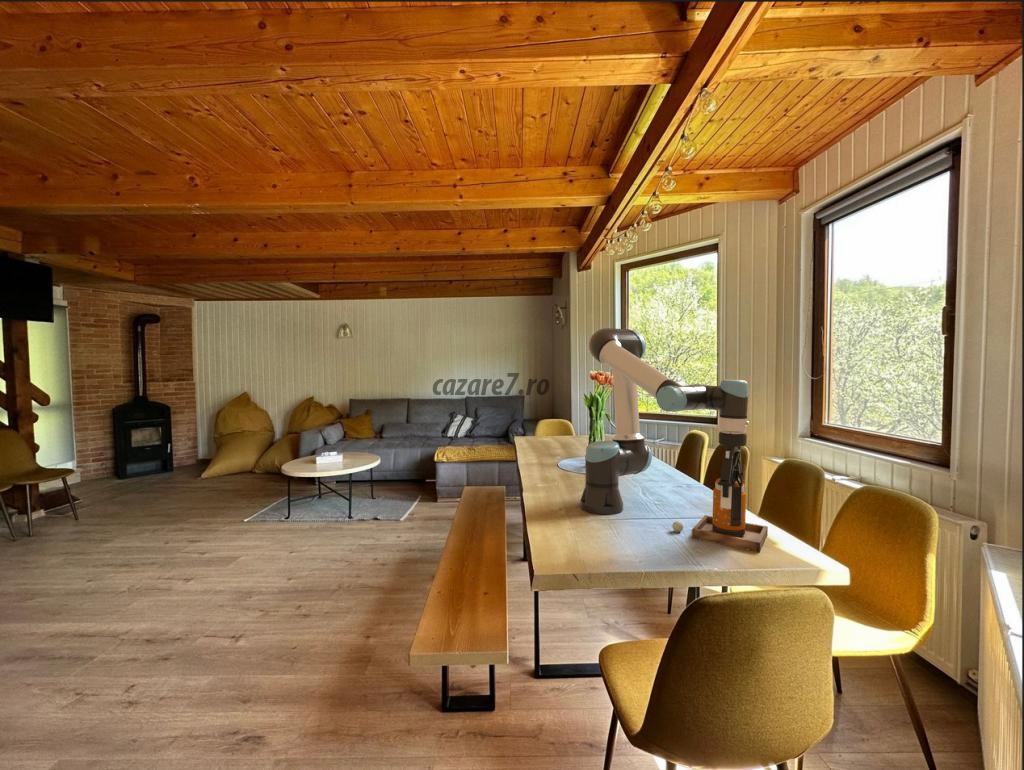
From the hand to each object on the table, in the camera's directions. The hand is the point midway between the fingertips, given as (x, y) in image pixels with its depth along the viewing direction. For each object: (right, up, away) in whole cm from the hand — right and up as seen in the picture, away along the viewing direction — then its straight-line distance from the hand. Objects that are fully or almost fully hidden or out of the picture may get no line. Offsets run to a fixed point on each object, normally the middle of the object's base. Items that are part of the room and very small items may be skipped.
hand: (730, 502), depth 141 cm
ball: (-14, -10, +4) cm, 18 cm away
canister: (0, -10, 0) cm, 10 cm away
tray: (0, -10, 0) cm, 10 cm away
